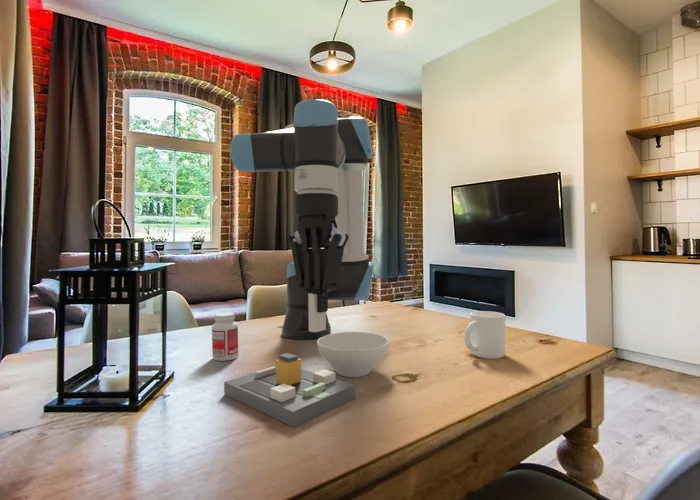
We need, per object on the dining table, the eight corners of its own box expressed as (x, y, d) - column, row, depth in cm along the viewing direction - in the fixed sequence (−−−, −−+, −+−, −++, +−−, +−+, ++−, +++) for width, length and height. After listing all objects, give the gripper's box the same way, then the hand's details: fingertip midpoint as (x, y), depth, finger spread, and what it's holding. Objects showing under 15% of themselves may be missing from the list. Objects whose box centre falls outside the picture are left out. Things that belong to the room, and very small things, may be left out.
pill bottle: (237, 353, 104) (236, 311, 104) (239, 360, 98) (238, 315, 98) (212, 355, 102) (211, 312, 101) (212, 362, 96) (211, 317, 96)
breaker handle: (275, 382, 75) (275, 356, 75) (290, 377, 78) (290, 351, 77) (286, 386, 73) (286, 359, 73) (301, 381, 76) (300, 354, 75)
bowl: (366, 390, 78) (366, 354, 78) (302, 375, 87) (302, 343, 86) (400, 367, 92) (400, 337, 91) (342, 356, 100) (342, 329, 100)
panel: (224, 394, 76) (224, 373, 76) (285, 374, 88) (285, 355, 87) (293, 427, 63) (292, 401, 63) (354, 398, 74) (354, 375, 74)
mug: (478, 363, 94) (478, 320, 94) (452, 355, 101) (452, 314, 101) (512, 356, 100) (512, 315, 99) (486, 348, 107) (486, 309, 107)
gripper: (275, 195, 70) (276, 328, 71) (328, 188, 62) (329, 340, 62) (306, 198, 76) (307, 322, 76) (359, 192, 67) (360, 332, 68)
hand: (317, 330), depth 69 cm, fingers closed
